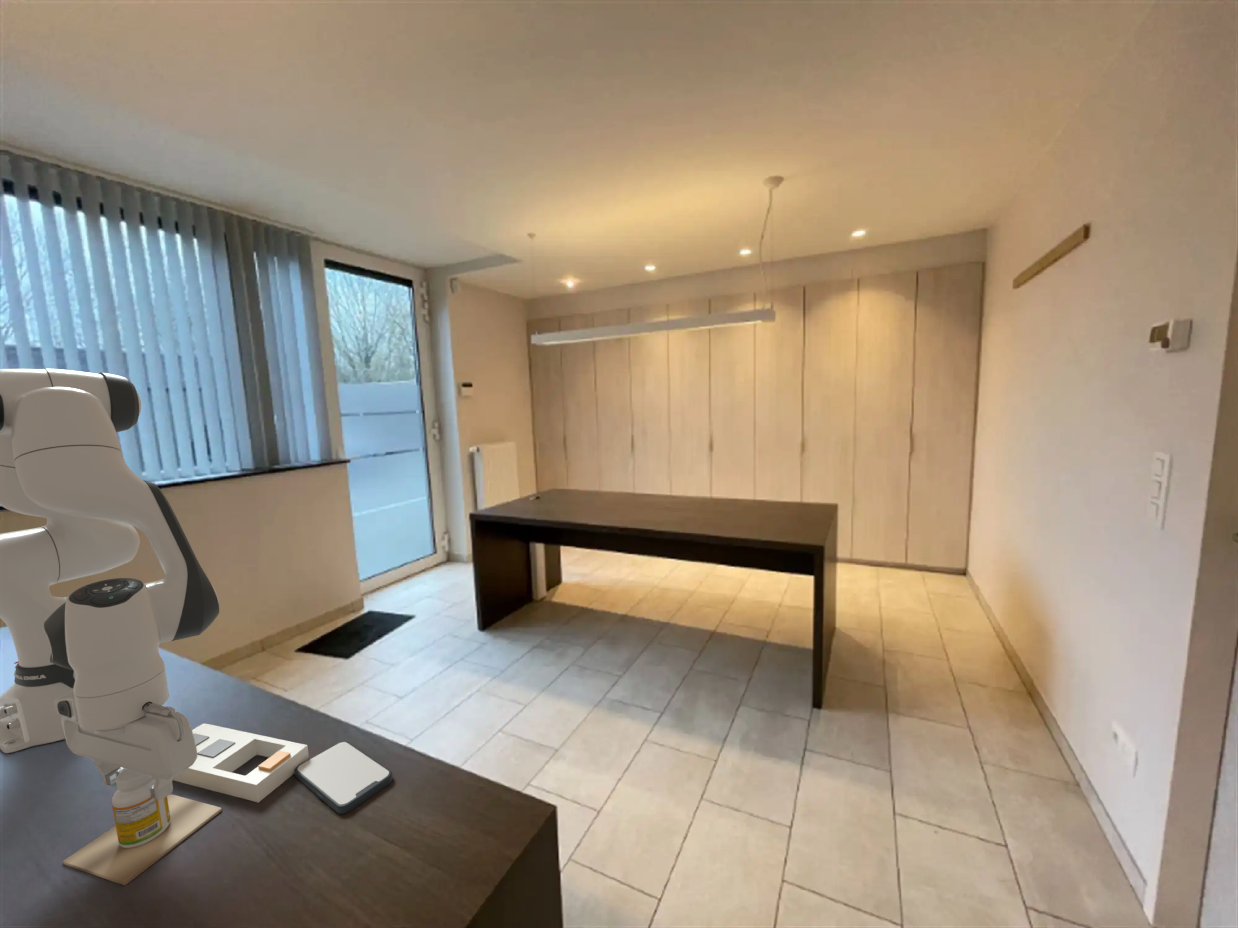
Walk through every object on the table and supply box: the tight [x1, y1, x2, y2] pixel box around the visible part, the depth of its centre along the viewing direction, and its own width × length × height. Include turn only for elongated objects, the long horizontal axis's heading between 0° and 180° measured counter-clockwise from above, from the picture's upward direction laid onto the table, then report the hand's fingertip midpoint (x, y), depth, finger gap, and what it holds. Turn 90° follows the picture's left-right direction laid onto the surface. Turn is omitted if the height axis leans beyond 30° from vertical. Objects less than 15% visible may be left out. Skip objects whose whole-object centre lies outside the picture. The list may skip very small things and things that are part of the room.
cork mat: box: [62, 793, 223, 886], centre depth 70 cm, size 12×12×1 cm
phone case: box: [294, 740, 393, 815], centre depth 80 cm, size 9×2×16 cm
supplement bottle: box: [111, 768, 171, 848], centre depth 69 cm, size 5×5×10 cm
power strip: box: [172, 722, 310, 803], centre depth 83 cm, size 24×9×4 cm, turn 75°
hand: (138, 788), depth 69 cm, fingers open, 8 cm apart
